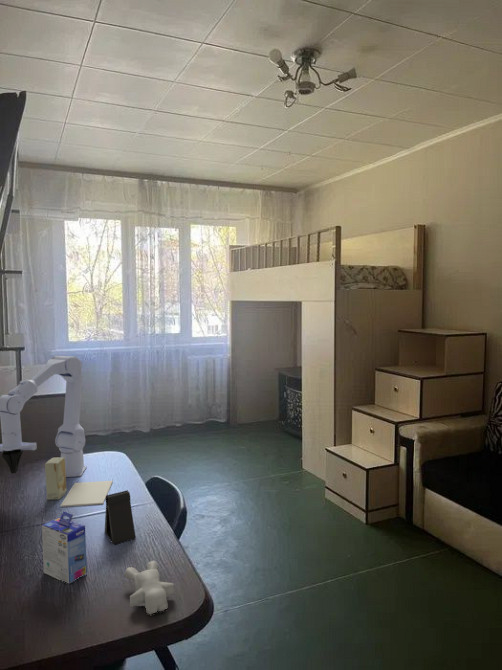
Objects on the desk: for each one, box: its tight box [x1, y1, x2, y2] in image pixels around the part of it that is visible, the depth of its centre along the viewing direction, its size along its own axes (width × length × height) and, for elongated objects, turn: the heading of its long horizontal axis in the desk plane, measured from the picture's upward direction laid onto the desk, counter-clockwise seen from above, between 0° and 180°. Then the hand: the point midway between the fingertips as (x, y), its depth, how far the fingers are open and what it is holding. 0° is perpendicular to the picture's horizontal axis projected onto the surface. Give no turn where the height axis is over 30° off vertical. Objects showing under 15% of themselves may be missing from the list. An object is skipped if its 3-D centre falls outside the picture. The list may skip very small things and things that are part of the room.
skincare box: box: [44, 456, 68, 500], centre depth 162 cm, size 6×4×12 cm
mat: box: [60, 480, 114, 508], centre depth 163 cm, size 18×13×1 cm
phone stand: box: [104, 489, 137, 546], centre depth 135 cm, size 9×6×12 cm, turn 31°
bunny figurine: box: [123, 560, 175, 615], centre depth 108 cm, size 10×5×15 cm
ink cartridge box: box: [41, 511, 88, 584], centre depth 117 cm, size 10×6×14 cm, turn 58°
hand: (14, 472), depth 160 cm, fingers closed
